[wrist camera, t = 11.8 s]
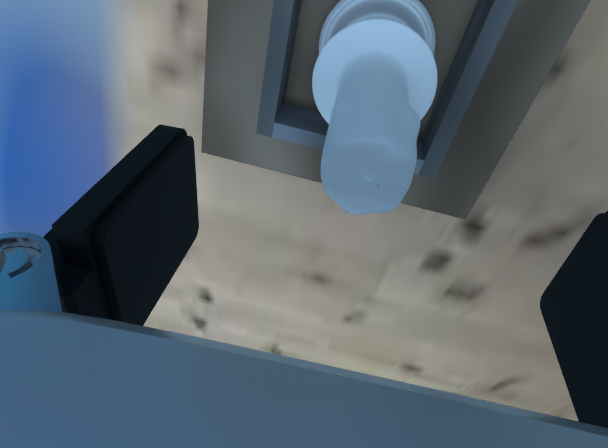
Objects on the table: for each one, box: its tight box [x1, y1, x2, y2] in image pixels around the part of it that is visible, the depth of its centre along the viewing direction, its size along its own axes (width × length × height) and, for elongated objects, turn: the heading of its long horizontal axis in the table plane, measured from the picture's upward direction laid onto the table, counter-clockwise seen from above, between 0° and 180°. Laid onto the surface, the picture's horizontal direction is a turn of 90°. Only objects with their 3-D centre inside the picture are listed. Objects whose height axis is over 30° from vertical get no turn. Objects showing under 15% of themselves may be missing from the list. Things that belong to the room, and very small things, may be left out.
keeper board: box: [202, 0, 590, 219], centre depth 19 cm, size 16×16×4 cm
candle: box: [312, 0, 437, 215], centre depth 15 cm, size 5×5×12 cm
